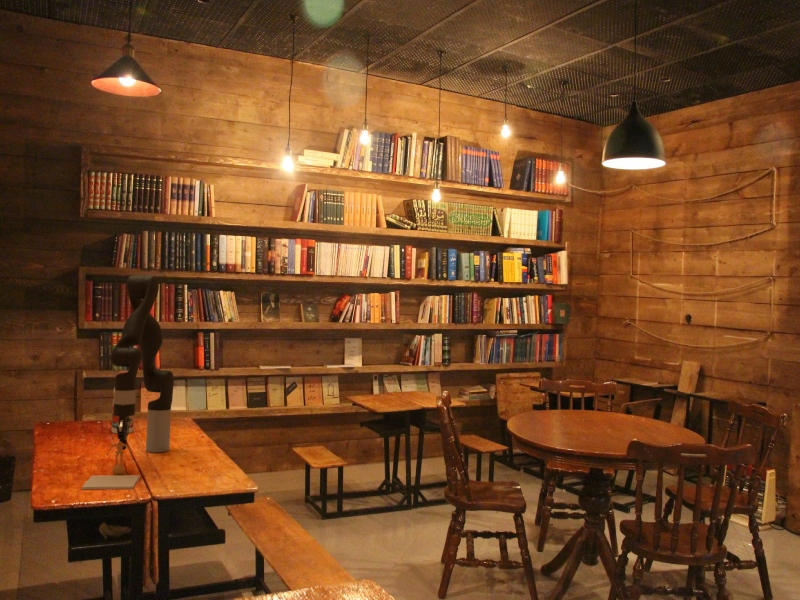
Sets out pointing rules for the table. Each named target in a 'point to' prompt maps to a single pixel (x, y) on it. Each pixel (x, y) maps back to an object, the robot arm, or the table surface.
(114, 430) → the fruit juice
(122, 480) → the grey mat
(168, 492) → the table surface
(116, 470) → the figurine
